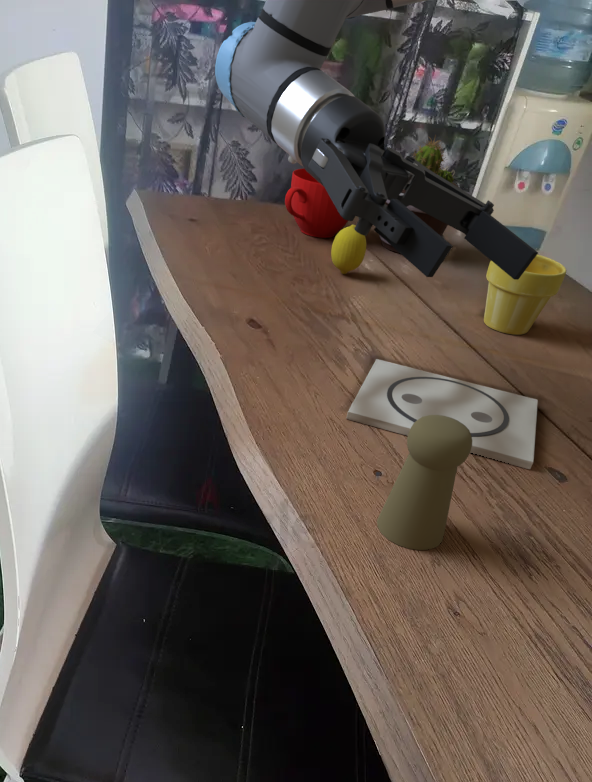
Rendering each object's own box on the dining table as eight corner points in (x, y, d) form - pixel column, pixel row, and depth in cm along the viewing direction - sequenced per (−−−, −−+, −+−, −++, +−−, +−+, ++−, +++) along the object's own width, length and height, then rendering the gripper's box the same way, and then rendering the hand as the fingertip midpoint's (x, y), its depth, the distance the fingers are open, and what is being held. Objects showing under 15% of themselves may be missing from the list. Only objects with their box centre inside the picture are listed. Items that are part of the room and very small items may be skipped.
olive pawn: (430, 559, 63) (470, 451, 57) (366, 531, 66) (397, 424, 59) (452, 526, 68) (491, 422, 61) (391, 500, 70) (422, 398, 63)
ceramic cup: (255, 229, 138) (263, 172, 132) (313, 219, 148) (323, 165, 142) (307, 250, 131) (317, 191, 125) (364, 237, 141) (376, 182, 135)
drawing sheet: (535, 406, 90) (538, 398, 89) (530, 470, 77) (534, 460, 77) (374, 365, 94) (376, 357, 94) (346, 419, 82) (348, 410, 81)
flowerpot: (381, 231, 146) (408, 119, 134) (457, 249, 141) (491, 135, 129) (356, 247, 136) (382, 127, 124) (436, 268, 131) (472, 144, 119)
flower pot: (547, 345, 106) (574, 278, 100) (475, 333, 107) (498, 266, 101) (534, 319, 114) (558, 256, 109) (467, 308, 115) (488, 245, 109)
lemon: (323, 275, 121) (333, 225, 116) (331, 266, 125) (341, 217, 121) (356, 282, 120) (367, 232, 115) (363, 273, 124) (374, 224, 119)
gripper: (387, 184, 80) (529, 302, 71) (215, 157, 64) (368, 303, 55) (427, 114, 75) (584, 231, 66) (251, 66, 59) (425, 210, 50)
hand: (486, 264), depth 60 cm, fingers open, 13 cm apart
